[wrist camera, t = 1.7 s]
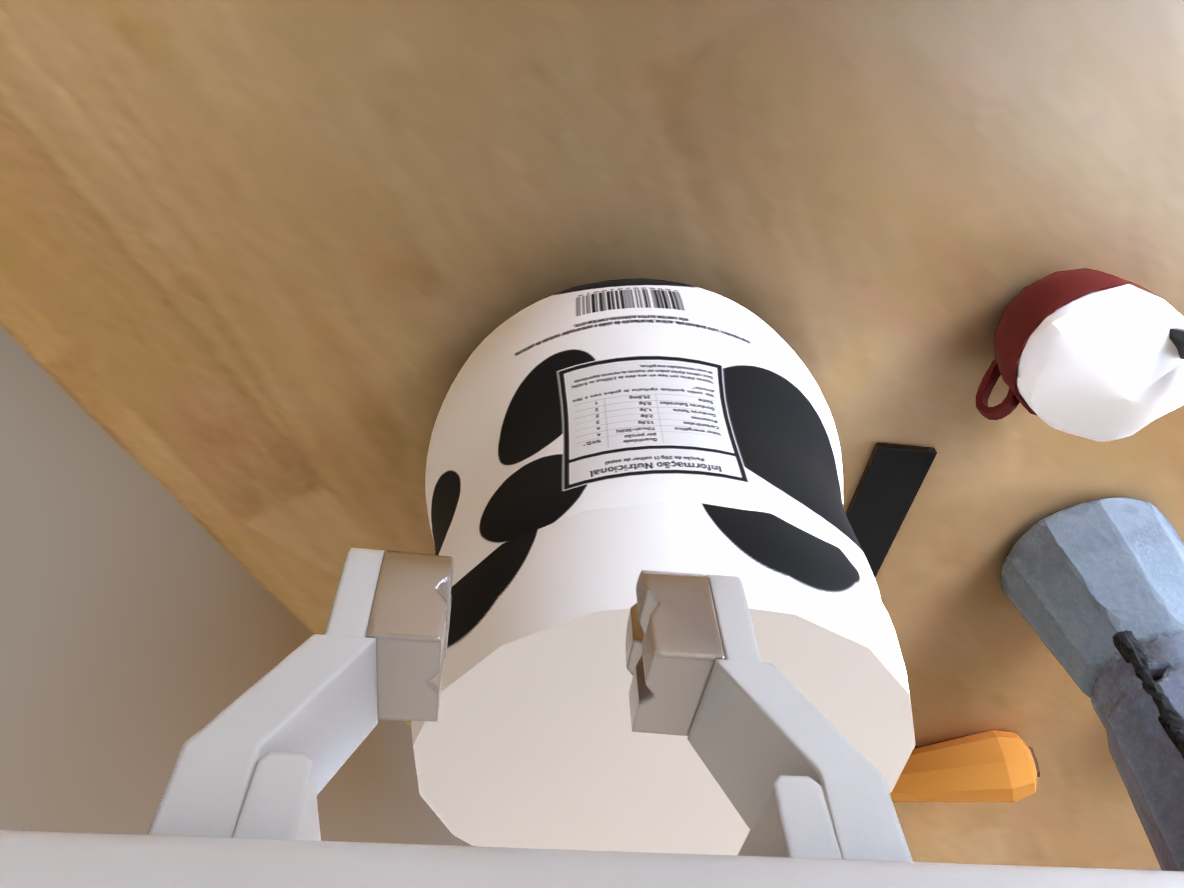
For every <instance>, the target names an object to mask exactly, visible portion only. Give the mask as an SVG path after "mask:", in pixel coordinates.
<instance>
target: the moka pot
mask: <svg viewBox="0 0 1184 888" xmlns="http://www.w3.org/2000/svg"><path fill="white" fill-rule="evenodd" d="M1001 588H1002V590H1003V591H1004V593H1005V594H1006V595H1007V597H1008V598H1009V599H1010V601H1011V602H1012V603H1013V605H1014V606H1015V607H1016V608H1017V609H1018V610H1019V612H1020V613H1021V614H1022V616H1023V617H1024V618H1025V620H1026V621H1027V622H1028V624H1029V625H1030V626H1031V627H1032V629H1033V630H1034V631H1035V632H1036V634H1037V635H1038V636H1039V637H1040V639H1041V640H1042V641H1043V643H1044V644H1045V645H1046V647H1047V648H1048V649H1049V650H1050V651H1051V653H1052V654H1053V655H1054V656H1055V658H1056V659H1057V660H1058V661H1059V662H1060V664H1061V665H1062V666H1063V667H1064V669H1065V670H1066V671H1067V673H1068V674H1069V675H1070V676H1071V678H1072V679H1073V680H1074V682H1075V683H1076V684H1077V685H1078V687H1079V688H1080V689H1081V690H1082V692H1083V693H1085V694H1086V695H1087V696H1088V697H1090V698H1091V702H1092V705H1093V707H1094V710H1095V712H1096V713H1097V715H1098V717H1099V719H1100V720H1101V722H1102V724H1103V725H1104V727H1105V728H1106V732H1107V738H1108V746H1109V750H1110V753H1111V755H1112V758H1113V760H1114V762H1115V764H1116V767H1117V769H1118V771H1119V773H1120V776H1121V778H1122V780H1123V782H1124V784H1125V787H1126V789H1127V791H1128V794H1129V796H1130V798H1131V801H1132V803H1133V805H1134V808H1135V810H1136V812H1137V814H1138V816H1139V819H1140V821H1141V823H1142V825H1143V828H1144V830H1145V832H1146V835H1147V837H1148V839H1149V842H1150V844H1151V846H1152V848H1153V851H1154V853H1155V855H1156V858H1157V860H1158V862H1159V865H1160V867H1161V869H1162V871H1184V544H1183V542H1182V540H1181V538H1180V537H1179V535H1178V534H1177V532H1176V530H1175V529H1174V527H1173V526H1172V524H1171V523H1170V522H1169V521H1168V519H1167V518H1166V517H1165V516H1164V515H1163V514H1162V513H1161V512H1160V511H1159V510H1158V509H1157V508H1156V507H1155V506H1154V505H1153V504H1151V503H1149V502H1146V501H1142V500H1138V499H1134V498H1126V497H1123V498H1106V499H1099V500H1094V501H1090V502H1085V503H1080V504H1077V505H1076V506H1073V507H1071V508H1068V509H1064V510H1061V511H1059V512H1056V513H1054V514H1052V515H1051V516H1048V517H1044V518H1043V519H1041V520H1038V522H1037V524H1035V525H1033V526H1032V527H1031V528H1030V529H1029V530H1028V531H1027V532H1026V533H1025V534H1023V535H1022V536H1021V537H1020V539H1019V540H1018V541H1017V542H1016V543H1015V544H1014V546H1013V548H1012V549H1011V551H1010V553H1009V555H1008V556H1007V557H1006V559H1005V560H1004V562H1003V567H1002V574H1001Z"/></svg>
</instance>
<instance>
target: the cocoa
mask: <svg viewBox="0 0 1184 888" xmlns="http://www.w3.org/2000/svg"><path fill="white" fill-rule="evenodd" d="M994 342H995V359H994V360H993V362H992V363H991V365H990V367H989V369H988V370H987V372H986V374H985V375H984V377H983V379H982V381H981V384H980V386H979V389H978V391H977V394H976V407H977V409H978V410H979V412H980V413H981V414H982V415H983V416H984V417H986V418H987V419H989V420H998V419H1002V418H1004V417H1005V416H1007V415H1009V414H1010V413H1011V412H1012V411H1013V410H1014V409H1015V408H1016V407H1017V405H1018V404H1019V402H1020V403H1021V404H1022V405H1023V406H1024V407H1025V408H1026V409H1027V410H1028V411H1029V412H1030V413H1031V414H1034V415H1037V416H1038V417H1039V418H1040V419H1041V420H1043V421H1044V422H1045V423H1046V424H1048V425H1049V426H1050V427H1051V428H1054V429H1057V430H1060V431H1063V432H1066V433H1069V434H1072V435H1076V436H1080V437H1083V438H1087V439H1091V440H1095V441H1098V442H1099V441H1112V440H1116V439H1120V438H1124V437H1128V436H1132V435H1133V434H1134V433H1136V432H1137V431H1139V430H1140V429H1142V428H1143V427H1145V426H1146V425H1148V424H1149V423H1151V422H1152V421H1153V420H1155V419H1157V418H1159V417H1161V416H1163V415H1165V414H1167V413H1169V412H1171V411H1173V410H1175V409H1177V408H1179V407H1181V406H1183V405H1184V317H1183V316H1182V315H1181V314H1180V313H1179V312H1178V311H1177V310H1175V309H1174V308H1173V307H1172V306H1171V305H1170V304H1169V303H1168V302H1167V301H1165V300H1164V299H1162V298H1159V297H1157V296H1156V295H1155V294H1153V293H1151V292H1150V291H1148V290H1146V289H1145V288H1143V287H1141V286H1139V285H1137V284H1134V283H1132V282H1129V281H1126V280H1124V279H1121V278H1118V277H1116V276H1113V275H1110V274H1107V273H1104V272H1100V271H1097V270H1091V269H1086V268H1085V269H1076V270H1068V271H1060V272H1055V273H1053V274H1050V275H1048V276H1046V277H1044V278H1043V279H1041V280H1039V281H1037V282H1035V283H1033V284H1031V285H1029V286H1027V287H1025V288H1024V289H1023V290H1022V291H1021V292H1020V293H1019V294H1018V295H1017V296H1016V298H1015V299H1014V300H1013V301H1012V302H1011V303H1010V304H1009V305H1008V306H1007V307H1006V309H1005V311H1004V314H1003V316H1002V318H1001V321H1000V323H999V325H998V327H997V330H996V332H995V334H994ZM1000 375H1002V378H1003V380H1004V381H1005V383H1006V384H1007V385H1008V386H1009V388H1010V389H1009V391H1008V394H1007V397H1006V398H1005V399H1004V400H1003V401H1002V403H1001V404H999V405H997V406H995V407H988V404H987V403H988V398H989V396H990V393H991V391H992V389H993V387H994V385H995V383H996V381H997V380H998V378H999V376H1000Z"/></svg>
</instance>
